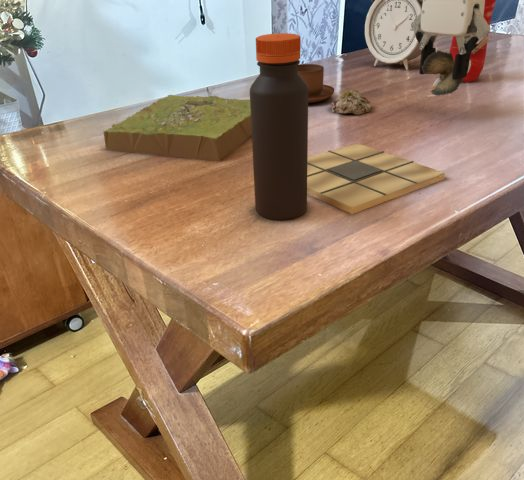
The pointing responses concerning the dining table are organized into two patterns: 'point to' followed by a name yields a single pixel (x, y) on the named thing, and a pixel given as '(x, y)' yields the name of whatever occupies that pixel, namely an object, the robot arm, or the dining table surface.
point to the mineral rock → (351, 103)
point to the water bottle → (480, 51)
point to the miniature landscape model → (184, 128)
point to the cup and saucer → (315, 82)
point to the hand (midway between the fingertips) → (442, 74)
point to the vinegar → (279, 128)
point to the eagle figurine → (442, 72)
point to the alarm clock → (393, 30)
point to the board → (364, 177)
